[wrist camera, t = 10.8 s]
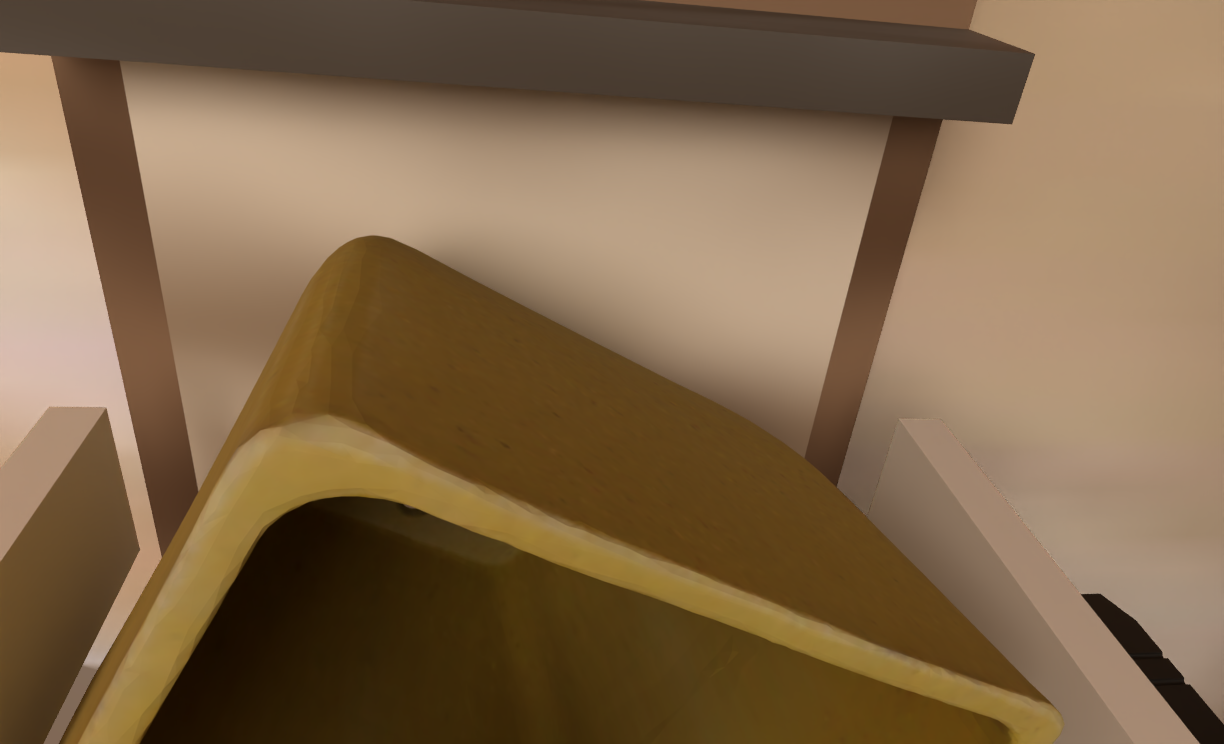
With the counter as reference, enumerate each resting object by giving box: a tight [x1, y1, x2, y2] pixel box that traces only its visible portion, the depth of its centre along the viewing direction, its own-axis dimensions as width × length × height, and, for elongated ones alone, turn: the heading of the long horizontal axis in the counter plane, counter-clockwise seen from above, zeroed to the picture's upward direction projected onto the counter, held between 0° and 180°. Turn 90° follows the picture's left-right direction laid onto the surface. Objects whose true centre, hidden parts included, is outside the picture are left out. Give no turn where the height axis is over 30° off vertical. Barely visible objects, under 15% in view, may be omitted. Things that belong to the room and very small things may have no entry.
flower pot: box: [59, 235, 1065, 744], centre depth 12 cm, size 9×9×9 cm
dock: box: [0, 0, 1035, 557], centre depth 15 cm, size 22×14×5 cm, turn 174°
